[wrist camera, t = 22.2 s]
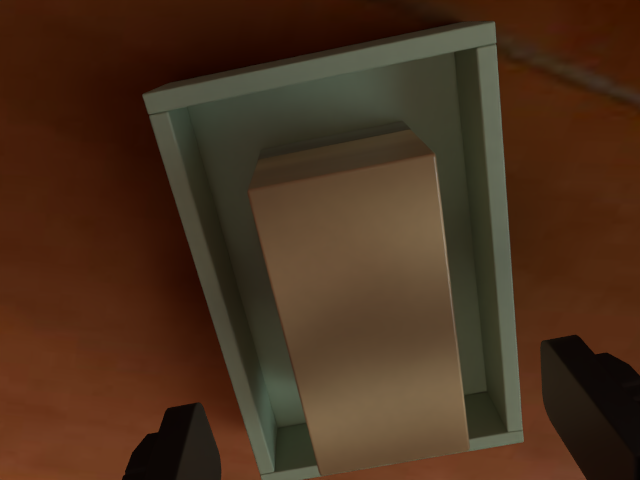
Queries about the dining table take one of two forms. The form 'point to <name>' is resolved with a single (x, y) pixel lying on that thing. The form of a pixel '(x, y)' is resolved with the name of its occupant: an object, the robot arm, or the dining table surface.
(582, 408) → the robot arm
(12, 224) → the dining table surface
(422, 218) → the eraser
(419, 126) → the tray
